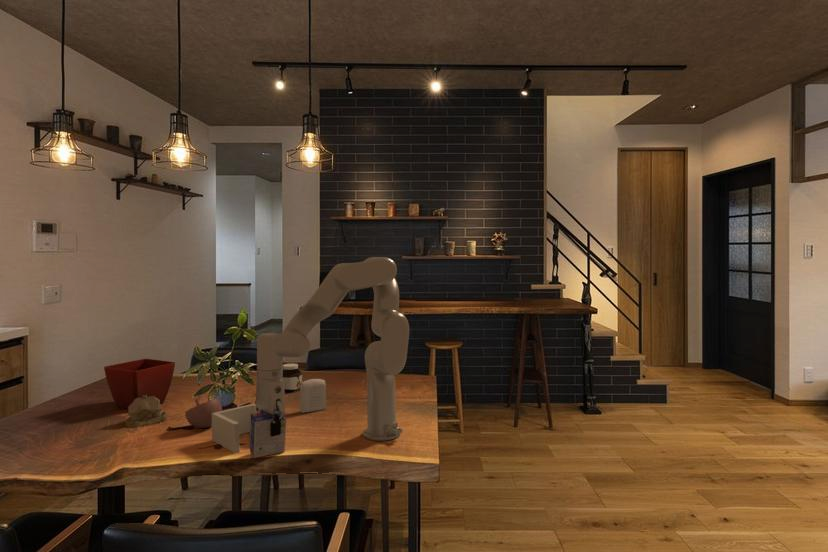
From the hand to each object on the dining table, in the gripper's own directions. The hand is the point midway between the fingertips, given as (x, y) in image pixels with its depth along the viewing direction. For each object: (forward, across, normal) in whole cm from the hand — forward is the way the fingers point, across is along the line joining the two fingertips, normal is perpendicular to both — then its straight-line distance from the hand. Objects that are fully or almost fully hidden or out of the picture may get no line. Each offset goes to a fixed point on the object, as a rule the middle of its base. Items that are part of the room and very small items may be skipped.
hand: (269, 431), depth 152 cm
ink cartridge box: (+7, +2, 0) cm, 7 cm away
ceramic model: (+8, +62, +15) cm, 64 cm away
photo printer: (+7, +28, -35) cm, 45 cm away
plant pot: (+8, +86, +9) cm, 87 cm away
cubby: (+7, +16, -1) cm, 18 cm away
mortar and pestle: (+8, +40, +3) cm, 40 cm away
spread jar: (+7, +63, -46) cm, 78 cm away
